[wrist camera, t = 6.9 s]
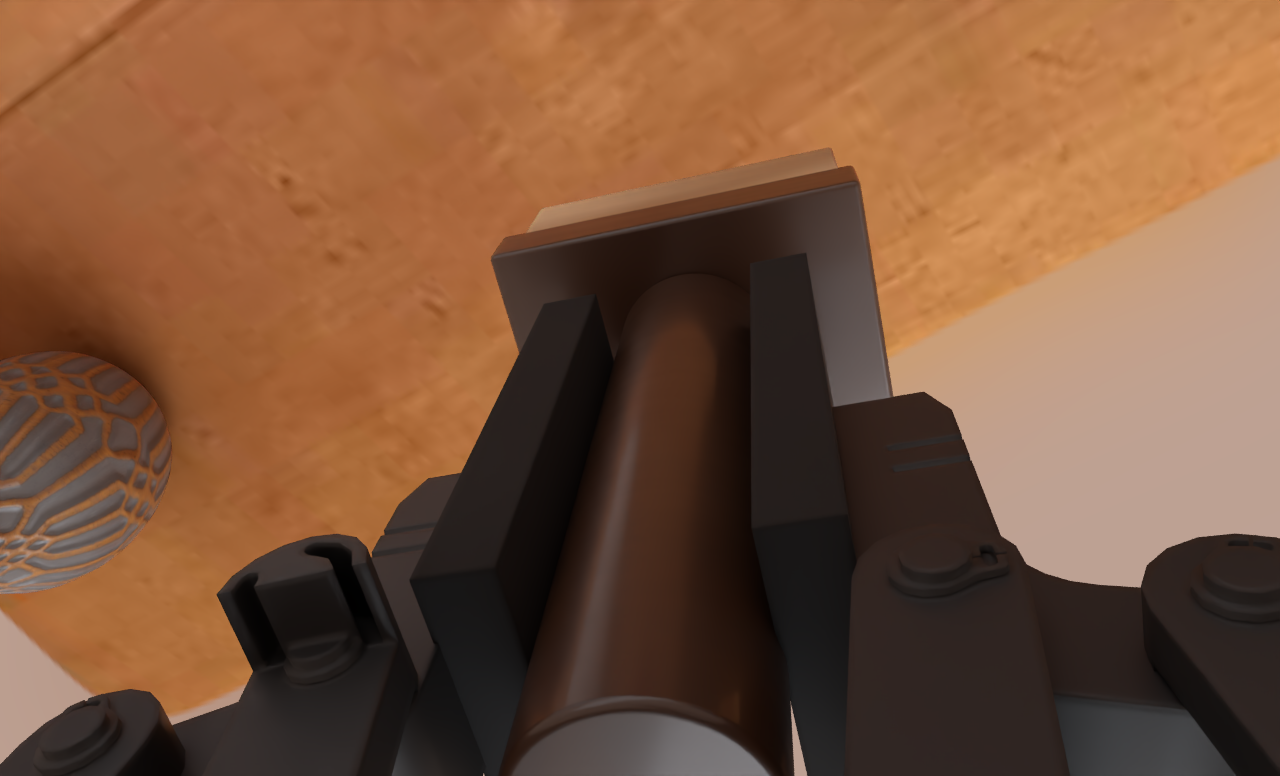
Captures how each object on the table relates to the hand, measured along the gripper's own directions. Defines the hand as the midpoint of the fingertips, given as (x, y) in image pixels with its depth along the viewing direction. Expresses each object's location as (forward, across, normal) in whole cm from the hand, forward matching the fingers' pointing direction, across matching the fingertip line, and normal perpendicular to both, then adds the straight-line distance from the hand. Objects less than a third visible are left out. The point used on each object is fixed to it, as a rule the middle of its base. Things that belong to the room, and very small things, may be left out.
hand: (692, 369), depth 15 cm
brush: (+4, 0, 0) cm, 4 cm away
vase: (+17, -22, -5) cm, 28 cm away
